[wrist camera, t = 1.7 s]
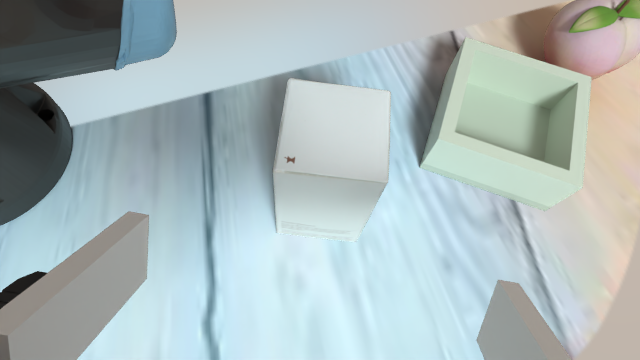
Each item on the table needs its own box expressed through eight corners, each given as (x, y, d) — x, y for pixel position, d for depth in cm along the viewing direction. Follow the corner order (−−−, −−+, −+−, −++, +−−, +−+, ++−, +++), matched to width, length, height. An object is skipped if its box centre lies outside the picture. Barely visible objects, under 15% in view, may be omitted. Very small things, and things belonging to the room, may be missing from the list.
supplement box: (357, 245, 36) (390, 187, 25) (274, 234, 36) (268, 171, 25) (363, 170, 39) (394, 88, 28) (286, 160, 39) (286, 74, 28)
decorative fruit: (566, 32, 49) (629, -44, 40) (615, 83, 46) (694, 13, 37) (506, 57, 47) (558, -18, 38) (553, 112, 44) (621, 45, 35)
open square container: (419, 167, 40) (438, 138, 35) (446, 74, 45) (465, 37, 40) (544, 211, 39) (582, 187, 34) (557, 110, 44) (591, 76, 39)
